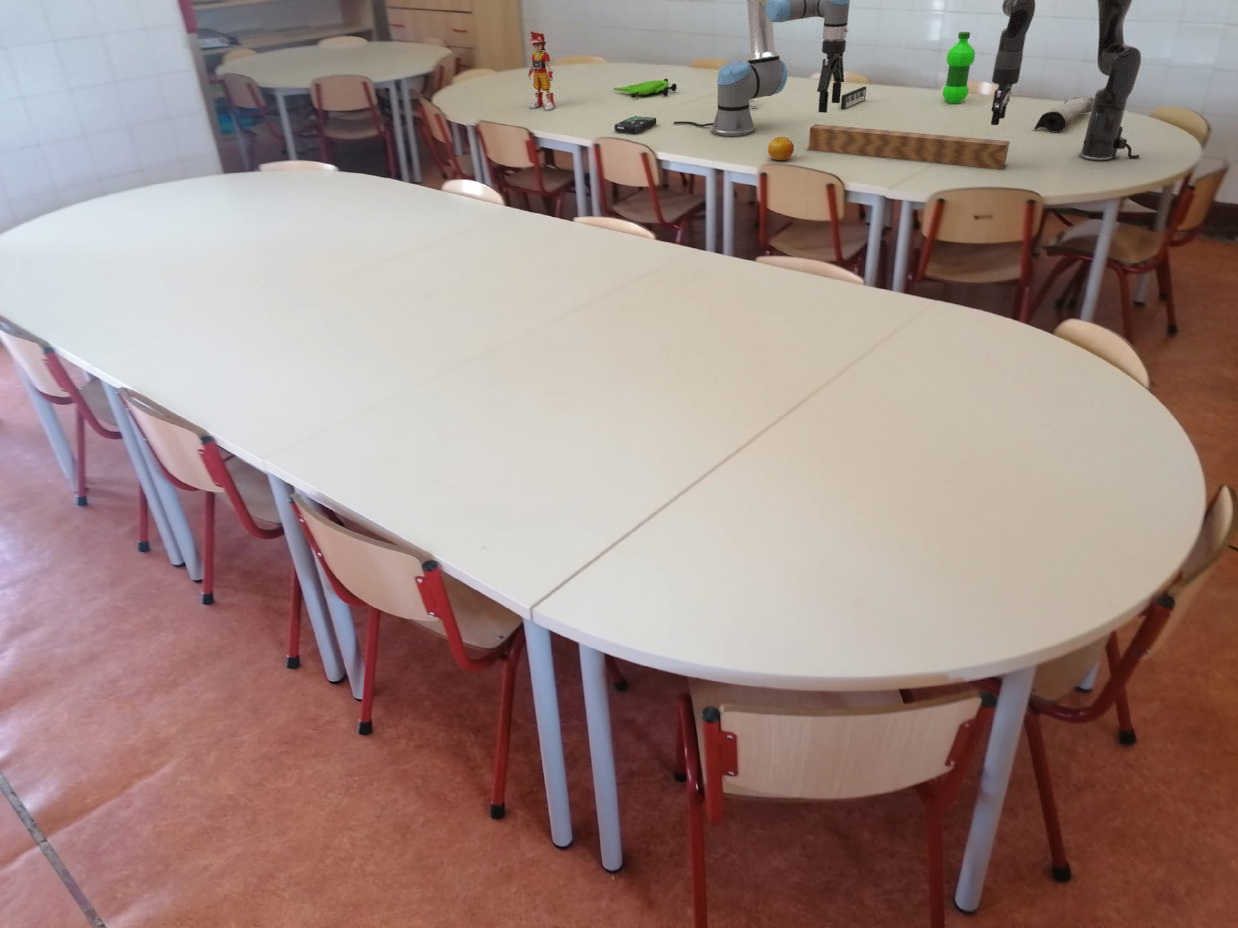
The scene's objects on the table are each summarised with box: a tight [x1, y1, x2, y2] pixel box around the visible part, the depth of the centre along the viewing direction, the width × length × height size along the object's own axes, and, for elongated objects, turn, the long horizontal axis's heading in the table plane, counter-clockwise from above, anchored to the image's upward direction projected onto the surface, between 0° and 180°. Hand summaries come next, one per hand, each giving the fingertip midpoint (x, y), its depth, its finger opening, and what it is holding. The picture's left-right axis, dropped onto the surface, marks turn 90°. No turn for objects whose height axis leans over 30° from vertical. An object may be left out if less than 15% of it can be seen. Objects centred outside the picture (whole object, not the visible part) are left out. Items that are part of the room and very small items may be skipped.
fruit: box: [767, 136, 795, 161], centre depth 303 cm, size 8×8×8 cm
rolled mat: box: [1034, 96, 1094, 133], centre depth 322 cm, size 30×9×10 cm
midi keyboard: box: [840, 86, 867, 110], centre depth 358 cm, size 18×1×5 cm, turn 138°
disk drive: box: [614, 115, 657, 135], centre depth 346 cm, size 10×3×15 cm
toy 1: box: [527, 31, 556, 111], centre depth 374 cm, size 12×9×30 cm
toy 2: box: [612, 78, 677, 99], centre depth 396 cm, size 28×5×30 cm
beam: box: [808, 123, 1010, 170], centre depth 298 cm, size 64×5×8 cm, turn 59°
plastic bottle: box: [942, 31, 976, 104], centre depth 348 cm, size 10×10×25 cm
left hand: (829, 107), depth 305 cm, fingers open, 13 cm apart
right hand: (997, 121), depth 280 cm, fingers open, 8 cm apart
